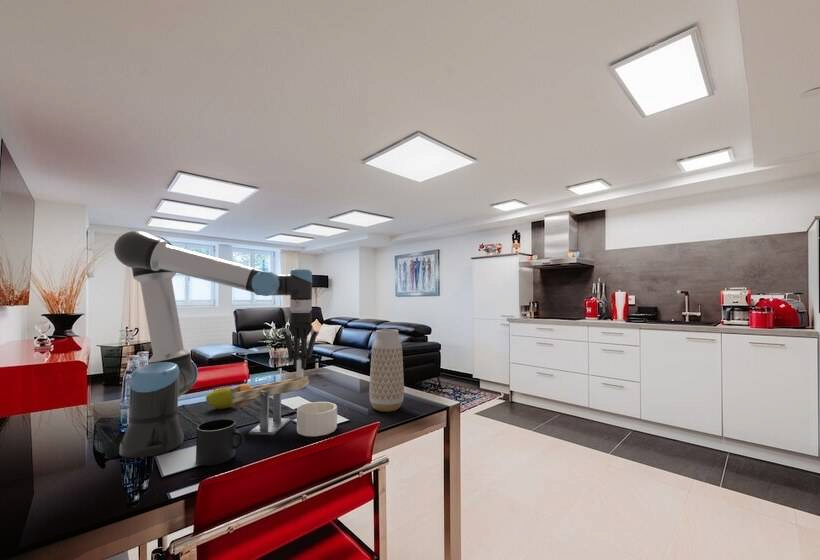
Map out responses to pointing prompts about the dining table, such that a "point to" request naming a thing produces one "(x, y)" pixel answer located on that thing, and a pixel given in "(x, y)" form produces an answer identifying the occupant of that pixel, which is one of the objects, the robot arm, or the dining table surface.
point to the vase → (386, 371)
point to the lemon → (220, 398)
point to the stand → (268, 424)
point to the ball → (244, 387)
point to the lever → (247, 396)
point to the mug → (216, 441)
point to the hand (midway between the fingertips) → (299, 377)
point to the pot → (316, 418)
